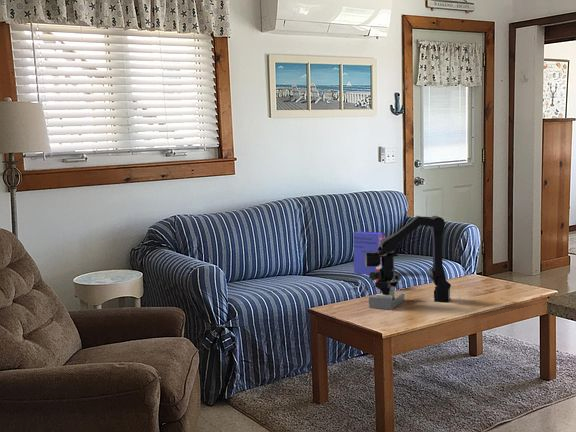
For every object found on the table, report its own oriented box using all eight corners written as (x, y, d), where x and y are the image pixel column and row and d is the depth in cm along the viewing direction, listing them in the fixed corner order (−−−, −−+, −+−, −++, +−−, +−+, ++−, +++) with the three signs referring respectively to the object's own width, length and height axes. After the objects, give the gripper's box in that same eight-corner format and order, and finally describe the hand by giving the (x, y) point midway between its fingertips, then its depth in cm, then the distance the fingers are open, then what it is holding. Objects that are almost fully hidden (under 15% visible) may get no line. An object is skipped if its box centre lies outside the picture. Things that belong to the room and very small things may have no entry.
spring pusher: (392, 304, 298) (392, 295, 297) (391, 305, 297) (391, 295, 297) (377, 303, 301) (376, 294, 301) (376, 303, 301) (376, 294, 300)
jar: (396, 301, 305) (396, 285, 304) (392, 304, 300) (392, 288, 299) (384, 299, 308) (384, 284, 307) (379, 302, 303) (379, 287, 302)
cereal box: (386, 274, 365) (385, 232, 362) (382, 276, 361) (381, 233, 358) (358, 272, 374) (357, 231, 371) (354, 273, 370) (353, 232, 367)
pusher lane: (404, 299, 309) (404, 289, 308) (390, 309, 292) (390, 298, 291) (383, 297, 314) (383, 287, 313) (369, 307, 297) (368, 297, 296)
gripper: (378, 261, 314) (379, 292, 316) (363, 268, 298) (364, 302, 300) (400, 262, 309) (401, 294, 311) (387, 270, 292) (387, 304, 294)
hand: (388, 298), depth 304 cm, fingers open, 6 cm apart
